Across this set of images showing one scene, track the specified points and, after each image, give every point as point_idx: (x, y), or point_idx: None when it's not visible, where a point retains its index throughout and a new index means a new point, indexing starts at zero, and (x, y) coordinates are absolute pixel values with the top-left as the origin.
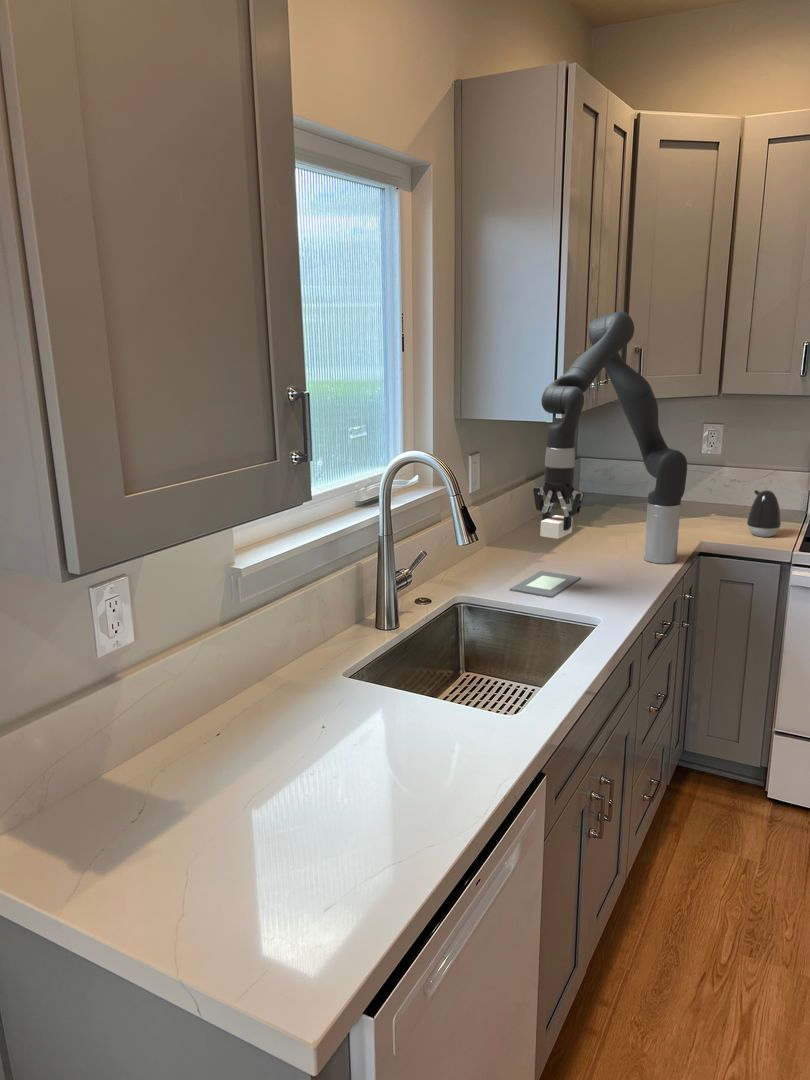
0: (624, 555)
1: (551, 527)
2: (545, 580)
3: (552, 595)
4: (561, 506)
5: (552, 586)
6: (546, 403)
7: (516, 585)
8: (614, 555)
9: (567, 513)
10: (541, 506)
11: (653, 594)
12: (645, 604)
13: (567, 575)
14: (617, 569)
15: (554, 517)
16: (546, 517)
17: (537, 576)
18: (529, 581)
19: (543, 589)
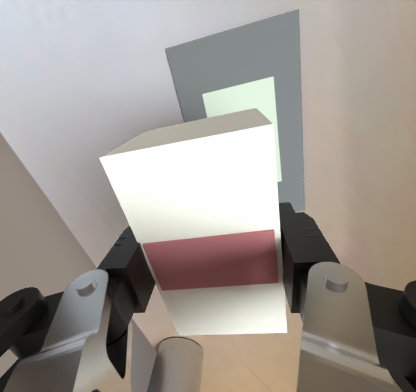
0: (231, 346)
1: (172, 136)
2: None
3: (169, 56)
4: (75, 358)
5: None
6: None
7: (297, 59)
8: (243, 341)
9: (73, 295)
10: (411, 341)
11: (65, 220)
12: (25, 164)
13: None
14: None
15: (256, 290)
16: (286, 242)
17: (289, 168)
18: (285, 120)
19: (218, 86)
